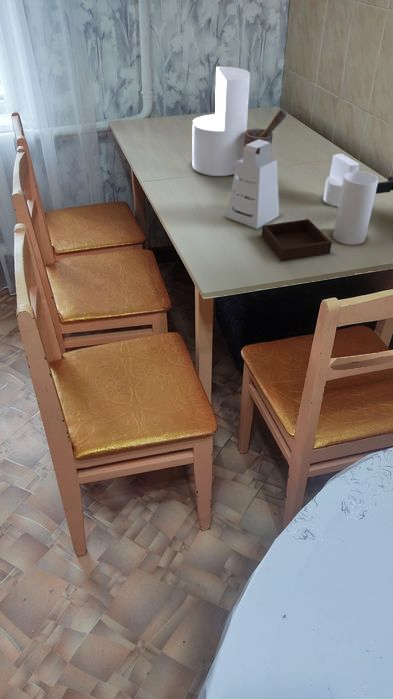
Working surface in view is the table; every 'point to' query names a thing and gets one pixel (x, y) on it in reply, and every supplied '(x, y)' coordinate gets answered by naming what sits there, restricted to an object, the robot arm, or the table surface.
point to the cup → (355, 207)
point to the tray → (296, 240)
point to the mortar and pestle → (264, 131)
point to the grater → (255, 186)
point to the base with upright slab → (338, 177)
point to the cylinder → (222, 125)
